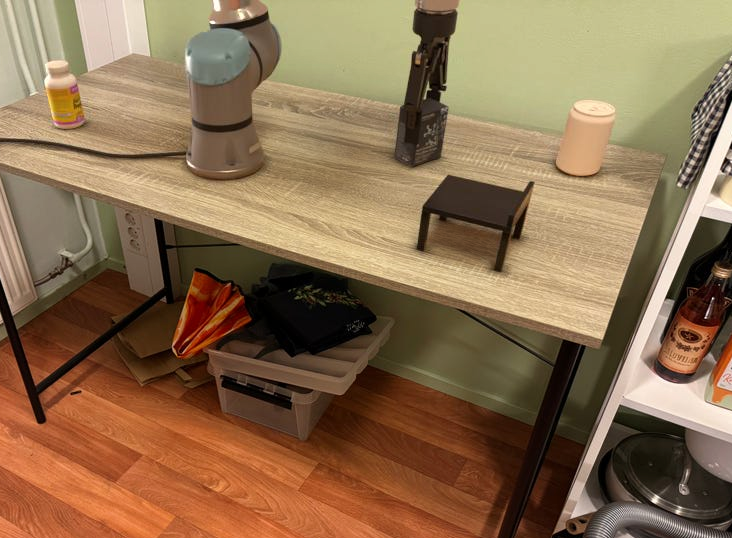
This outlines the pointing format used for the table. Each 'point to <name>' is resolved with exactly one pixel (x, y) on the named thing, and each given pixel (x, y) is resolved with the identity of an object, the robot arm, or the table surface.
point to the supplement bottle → (63, 96)
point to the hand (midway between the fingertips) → (420, 133)
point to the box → (423, 134)
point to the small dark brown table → (478, 209)
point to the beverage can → (585, 137)
